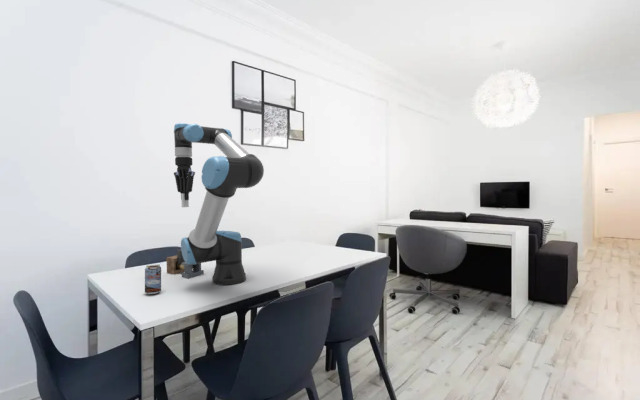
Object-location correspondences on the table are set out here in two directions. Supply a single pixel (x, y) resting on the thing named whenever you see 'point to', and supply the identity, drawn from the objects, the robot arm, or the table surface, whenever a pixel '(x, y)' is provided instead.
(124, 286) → the table surface
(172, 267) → the socket block
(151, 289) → the beverage can
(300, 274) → the table surface
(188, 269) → the grey slotted clamp block
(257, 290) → the table surface
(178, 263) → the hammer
